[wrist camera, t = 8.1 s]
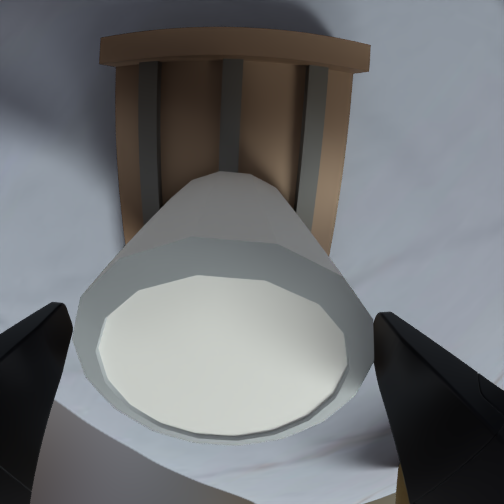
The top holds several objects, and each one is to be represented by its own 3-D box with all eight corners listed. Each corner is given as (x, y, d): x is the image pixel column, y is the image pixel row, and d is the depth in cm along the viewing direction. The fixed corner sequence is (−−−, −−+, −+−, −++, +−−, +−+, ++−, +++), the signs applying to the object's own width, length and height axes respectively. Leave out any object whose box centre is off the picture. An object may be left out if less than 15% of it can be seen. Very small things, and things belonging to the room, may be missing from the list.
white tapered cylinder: (164, 313, 14) (132, 446, 8) (128, 167, 11) (21, 258, 5) (312, 301, 14) (352, 435, 8) (313, 147, 11) (405, 222, 5)
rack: (127, 47, 10) (100, 37, 8) (344, 53, 11) (370, 44, 8) (152, 346, 18) (142, 381, 15) (301, 350, 18) (309, 385, 16)
